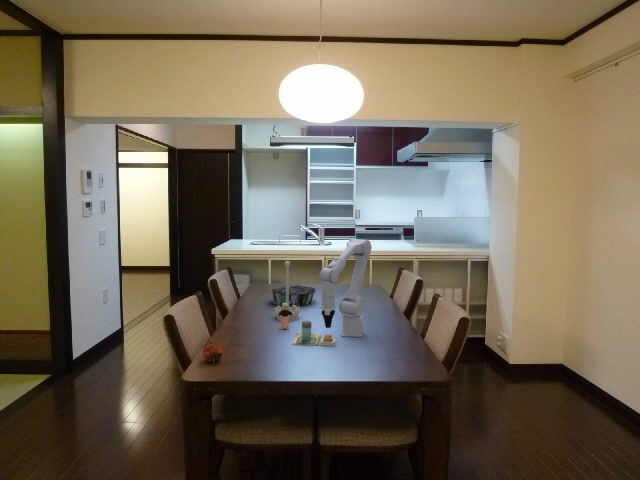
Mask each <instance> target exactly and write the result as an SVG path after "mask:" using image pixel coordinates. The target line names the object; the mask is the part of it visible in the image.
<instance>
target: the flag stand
mask: <svg viewBox="0 0 640 480" xmlns="http://www.w3.org/2000/svg"><path fill="white" fill-rule="evenodd" d="M284 266H285V286H286V303H287V304H288V305H289V286H290V279H289V278H290V276H289V275H290V271H291V268H290V266H291V262H290V261H289V260H285V262H284ZM300 307H301V306H295V305H292V307H288V309H287V310H289V311H290V312H292V313H293V316H294V317H293V318H292V317H291V315H288V316H289V322H290V321H296V320H298V318H299V314H300V313H301V308H300ZM281 310H283V307H282V306H278V305H276V307H274V314H275V315H276V319H277V320H278V321H281V316H282V315H280V317H279V318H277V316H278V314H279V313H280V311H281Z"/></svg>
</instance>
